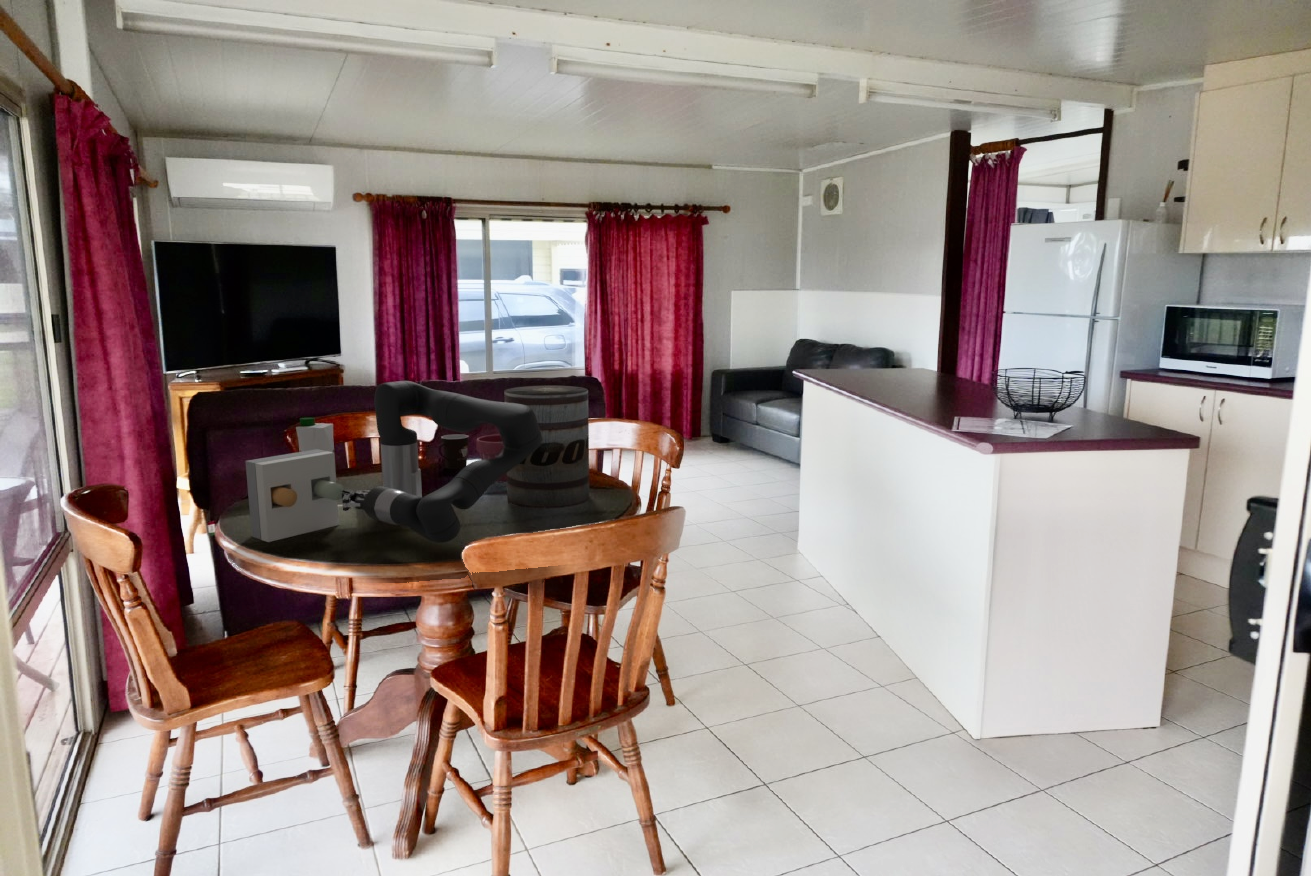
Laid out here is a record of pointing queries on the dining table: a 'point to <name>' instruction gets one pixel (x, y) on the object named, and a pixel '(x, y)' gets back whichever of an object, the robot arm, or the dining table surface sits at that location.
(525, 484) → the barrel
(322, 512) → the control box
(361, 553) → the dining table surface
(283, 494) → the button orange
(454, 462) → the coffee mug
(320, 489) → the button sage
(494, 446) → the plant pot
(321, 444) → the milk carton
